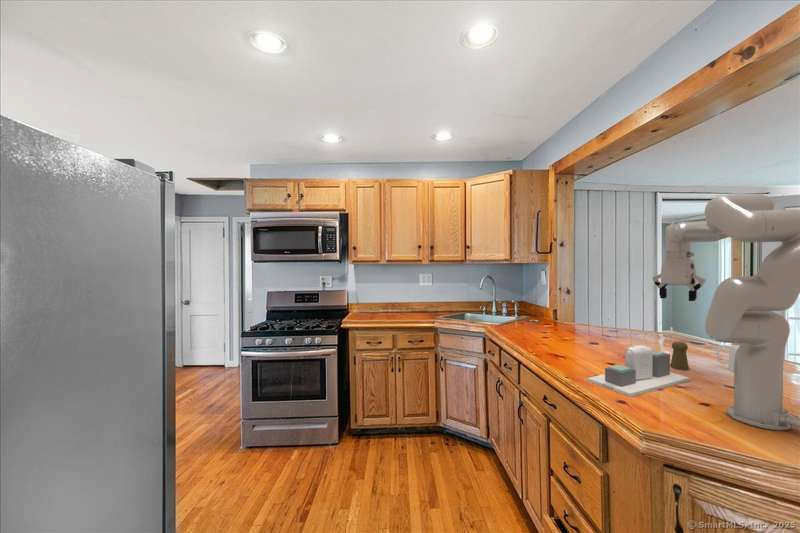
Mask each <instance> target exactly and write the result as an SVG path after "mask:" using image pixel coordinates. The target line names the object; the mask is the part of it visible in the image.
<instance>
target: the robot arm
mask: <svg viewBox="0 0 800 533" xmlns="http://www.w3.org/2000/svg"><path fill="white" fill-rule="evenodd" d="M704 216H705V221H703V220H701V221H681V222H677V223H675V224H669V225H667V226H666V228H665V231H664V232H665V242H664V243H665V245H664V246H665V249H664V250H665V252H664V254H665V257H664V259H663V261H662V264H661V270H660V273H659V274H658V275H655V276H652V281H653V282H654V284H655V286H657V288H658V289H659V291H658V292H659V299H666V298H668V297H667V296H668V293H667V288H666V287H667V286H668V285H670V286H672V285H673V286H677V285H678V286H686V287H687V288H688V289H690V290H688V301H689V302H695V301H696V299H697V293H698V292H697V291H699V289H701V288H702V287H703V285H704V284H705V283H706V278H703V277H701V276H698V275H697V273H696V271H697V270H696V267H695V261H694V259H691V258H692V257H695V254H696V253H694V252H692V251H691V243H710V242H717V241H721V240H724V239H727V238H731V239H733V240H734V241H737V242H740V243H751V244H752V243H781V244H780V245H779V246H778V247H776V248H775V249H773V250H772V251H771V252H770V253H768V254H767V255H766V256H765V258H764V259H763V260H762V262H761V263H760V264H761V265H760V268H759V270H758V271H757V273H756V274H754V275H752V276H749V275H748V276H745V275H744V276H731V277H728V278H725V279H724V280H723V281H721V282H720V283H719V284H718V285H717V287H716V288H715V292H714V294H713V297H712V300H711V302H710V306H709V309H708V311H707V314H706V317H705V321H704V322H705V323H704V327H705V332H706V334H707V335H708V337H709V338H710V339H712V340H713V341H716V342H719V343H724V344H725V343H727V344H740V346H739V348H738V349H737V351H736V353H735V362H734V373H733V374H734V376H733V378H734V380H733V405H732V406H729V407H726V414H727V415H728V416H729V417H730V418H732V419H734V420H736V421H738V422H741V423H744V424H746V425H749V426H753V427H756V428H761V429H766V430H771V431H788V430H790V429H791V428H792V426H793V427H796V428H799V429H800V418H799V417H798V416H797V417H796V416H792V415H790V414H789V413H788V409H787V408H785V407H783V406H784V404H783V403H784V402H783V400H784V395H783V394H784V393H783V392H784V365H785V364H784V363H785V362H784V361H785V360H784V359H785V350H786V346H787V344H788V339H789V337H790V332H791V328H790V324H789V322H788V320H787V319H786V318H785V317H784V315H783V316H782V315H781V314H780V313H777V312H782V311H787V310H789V309H791V308H792V307H793V306H794V304H796V301H797V299H798V298H799V296H800V209H794V208H793V209H775V203H774V201H773V200H772V199H771V197H768V196H767V195H764V194H760V193H738V194H733V193H732V194H722V195H721V194H720V195H718V196H715V197H713V198H712V199H710V200H709V201H708V202H707V204H706V205H705V208H704ZM659 279H660V281H659ZM696 283H697V284H696Z"/></svg>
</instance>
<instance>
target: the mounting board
mask: <svg viewBox="0 0 800 533" xmlns="http://www.w3.org/2000/svg"><path fill="white" fill-rule="evenodd" d="M651 350H652V349H651ZM652 352H653V367H652V378H648V379H640V380H636V370H635V369H632V368H629V367H625V365H621V364H616V365H612V366H608V367H607V366H606V367H604V373H603V374H599V375H596V376H595V375H593V376H591V377H587V378H586V381H587V382H588V383H591V384H594V385H597V386H599V387H601V388H605V389H607V390H611V391H614V392H615V391H616V392H615V393H618V394H620V395H624V396H626V397H628V398H629V397H630V398H631V397H636V396H639V395H643V394H646V393H651V392H654V391H658V390H661V389H664V388H668V387H671V386H675V385H679V384H683V383H687V382H690V377H688V376H685V375H682V374H677V373H674V372H671V367H670V366H671V354H670V353H667V352H664V351H658V350H652Z"/></svg>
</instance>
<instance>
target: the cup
mask: <svg viewBox="0 0 800 533" xmlns="http://www.w3.org/2000/svg"><path fill="white" fill-rule="evenodd" d="M740 345H741V344H740ZM740 345H739V344H730V345H725V344H719V345H718V346H717V349H716V358H717V361H718V362H719V363H721V364H727V365H728V370H729V372H731V373H733V374H734V362H735V353H736V351H737V349H738V348H739V346H740ZM721 347H723V348H726V349H728V352H729V353H728V355H729V356H728V360H722V359H721V355H720V351H721Z"/></svg>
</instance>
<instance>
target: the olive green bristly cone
mask: <svg viewBox="0 0 800 533" xmlns="http://www.w3.org/2000/svg"><path fill="white" fill-rule="evenodd" d="M688 346H689V345H688V344H687V343H686V342H684V341H673V342H672V343H671V348H672V349H673V351H672V356H671V359H670V369H675V370H677V371H678V370H679V371H689V364H688V362H689V361H688V356H687V350H688Z"/></svg>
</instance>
